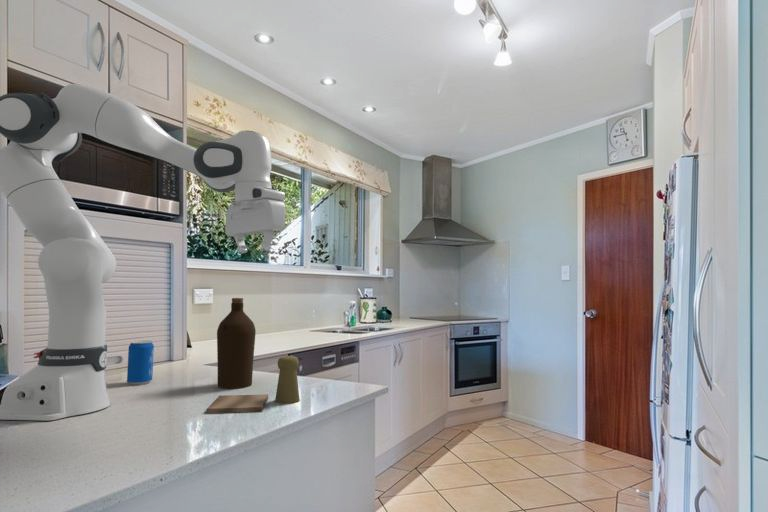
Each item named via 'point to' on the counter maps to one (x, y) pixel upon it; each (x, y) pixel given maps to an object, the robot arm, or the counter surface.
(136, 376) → the beverage can
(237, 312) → the olive oil
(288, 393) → the cork
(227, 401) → the walnut trivet
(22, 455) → the counter surface
